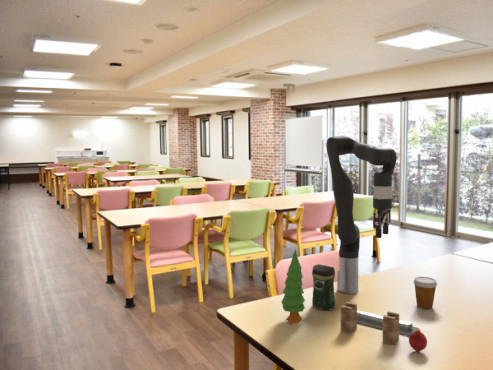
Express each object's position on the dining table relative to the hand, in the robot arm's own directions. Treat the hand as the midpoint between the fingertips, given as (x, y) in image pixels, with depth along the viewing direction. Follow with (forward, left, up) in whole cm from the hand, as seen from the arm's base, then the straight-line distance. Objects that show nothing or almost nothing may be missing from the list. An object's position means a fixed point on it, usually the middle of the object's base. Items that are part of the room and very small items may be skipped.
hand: (382, 235), depth 170 cm
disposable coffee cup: (+13, +18, -33) cm, 40 cm away
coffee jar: (-23, -7, -33) cm, 41 cm away
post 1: (-5, -22, -33) cm, 40 cm away
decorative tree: (-27, -27, -33) cm, 51 cm away
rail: (+3, -11, -32) cm, 34 cm away
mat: (+3, -11, -33) cm, 35 cm away
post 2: (+11, -22, -33) cm, 41 cm away
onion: (+21, -25, -33) cm, 47 cm away
